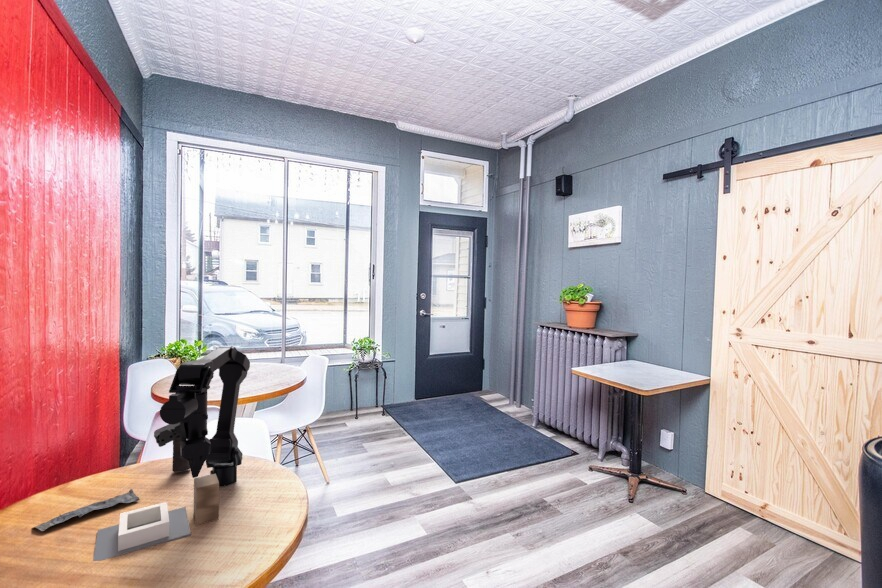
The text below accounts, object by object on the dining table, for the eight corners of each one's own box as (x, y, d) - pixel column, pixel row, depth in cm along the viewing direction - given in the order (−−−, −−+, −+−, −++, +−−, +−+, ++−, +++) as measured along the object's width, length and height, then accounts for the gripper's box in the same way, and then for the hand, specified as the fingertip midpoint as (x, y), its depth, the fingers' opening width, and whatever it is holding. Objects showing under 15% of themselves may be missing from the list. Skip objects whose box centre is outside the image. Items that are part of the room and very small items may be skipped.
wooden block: (215, 509, 109) (215, 473, 109) (218, 520, 104) (219, 482, 104) (193, 515, 106) (194, 478, 106) (196, 527, 101) (196, 488, 101)
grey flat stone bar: (36, 536, 95) (36, 527, 95) (30, 527, 99) (30, 518, 99) (140, 501, 112) (140, 493, 112) (131, 494, 116) (131, 486, 116)
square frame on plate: (185, 510, 108) (185, 493, 108) (190, 537, 97) (190, 519, 97) (97, 533, 97) (98, 515, 97) (92, 567, 86) (92, 547, 86)
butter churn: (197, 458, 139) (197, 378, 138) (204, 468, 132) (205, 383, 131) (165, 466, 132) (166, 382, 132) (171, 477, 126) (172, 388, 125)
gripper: (157, 405, 107) (156, 463, 108) (155, 427, 92) (155, 494, 92) (205, 399, 114) (204, 454, 114) (211, 419, 98) (210, 482, 99)
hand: (193, 469), depth 105 cm, fingers open, 9 cm apart
